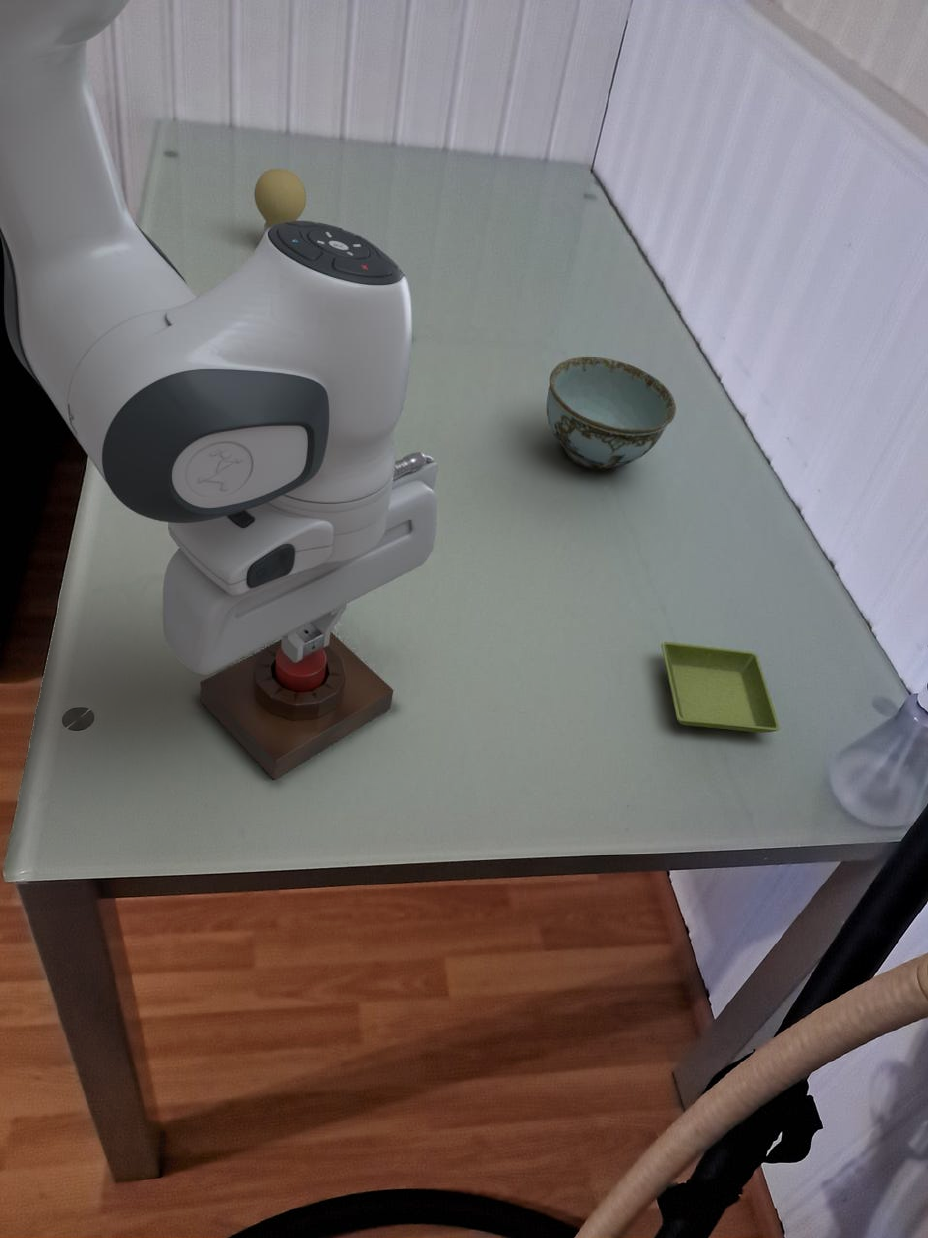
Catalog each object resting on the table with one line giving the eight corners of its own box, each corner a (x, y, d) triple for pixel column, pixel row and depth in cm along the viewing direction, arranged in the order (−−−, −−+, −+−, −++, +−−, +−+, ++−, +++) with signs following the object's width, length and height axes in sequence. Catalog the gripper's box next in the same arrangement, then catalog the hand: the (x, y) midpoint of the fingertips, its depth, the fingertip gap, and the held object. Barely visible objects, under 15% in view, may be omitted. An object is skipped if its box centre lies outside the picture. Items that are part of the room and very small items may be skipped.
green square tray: (669, 735, 77) (677, 719, 76) (653, 656, 83) (660, 640, 82) (770, 746, 78) (781, 731, 77) (747, 668, 85) (756, 652, 83)
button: (295, 700, 68) (296, 684, 67) (264, 669, 70) (265, 653, 69) (334, 677, 71) (336, 661, 69) (304, 648, 72) (305, 632, 71)
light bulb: (254, 235, 127) (256, 157, 120) (302, 241, 128) (307, 164, 121) (251, 257, 122) (253, 177, 115) (302, 263, 124) (307, 184, 117)
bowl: (523, 412, 108) (540, 348, 102) (636, 424, 110) (658, 362, 105) (541, 487, 98) (561, 421, 93) (665, 498, 101) (691, 435, 95)
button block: (274, 780, 68) (276, 746, 65) (200, 701, 71) (199, 665, 69) (390, 708, 74) (396, 674, 71) (316, 639, 78) (320, 604, 75)
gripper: (408, 421, 66) (385, 568, 76) (141, 525, 54) (154, 685, 64) (471, 468, 63) (439, 615, 73) (206, 589, 51) (209, 746, 61)
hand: (305, 649), depth 68 cm, fingers closed
